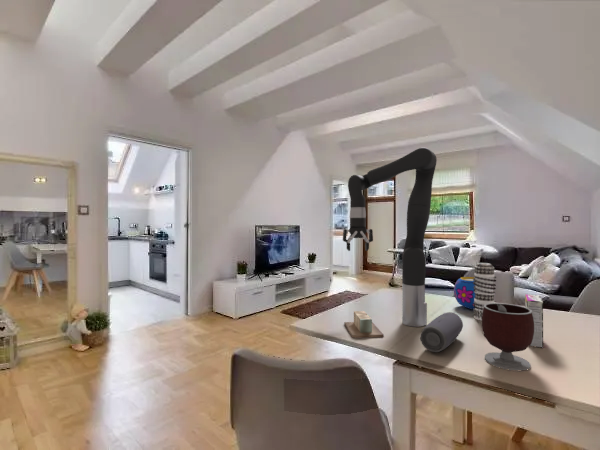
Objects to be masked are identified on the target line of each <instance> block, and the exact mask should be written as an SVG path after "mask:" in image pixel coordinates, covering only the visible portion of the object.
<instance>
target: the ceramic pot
mask: <svg viewBox="0 0 600 450" xmlns="http://www.w3.org/2000/svg"><path fill="white" fill-rule="evenodd" d="M474 278H475V277H474V276H461V277H460V278H458V279H457V280H456V282H455V284H454V287H453V297H454V298H455V300H456V302H457V303H458V305H460V306H462V307H463V308H466V309H470V310H474V309H475V308H474V305H475V304H474V302H475V301H474V298H475V292H474V291H473V290H474V288H473V287H474V286H475V285H474V284H473V282H474V281H473V279H474Z"/></svg>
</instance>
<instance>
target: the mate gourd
mask: <svg viewBox="0 0 600 450" xmlns="http://www.w3.org/2000/svg"><path fill="white" fill-rule="evenodd" d="M481 328H482V332H483V333H482V334H483V336H484V338H485V340H486V341H487V342H488V344H489V345H491V346H492V347H495V348H496V349H499V350H501V351H500V352H499V351H498V352H496V351H495V352H487V353H486V354H484V361H485V360H486V361H487V362H486V361H485V362H486V363H488V364H489V363H490V365H491V364H492V365H491V366H493V365H494V366H493V367H495V366H496V368H498V367H500V368H499V369H501V368H503V369H502V370H505V369H509V370H508V371H511V370H527V369H529V368H530V367H531V366H532V365H531V363H530V361H529V360H527V359H525V358H523V357H522V356H521V357H520V356H518V355H515V354H513V353H515V352H516V353H517V352H522V351H525V350H527V349H528V347H531V346H530V345H531V343H532V340H533V336H534V319H533V315H532V310H530V309H528V308H526V307H525V306H522V305H517V304H512V303H505V302H504V303H501V302H494V303H488V304H485V305H484V309H483V313H482V320H481ZM531 368H532V367H531ZM531 368H530V369H531ZM530 369H529V370H530ZM527 371H528V370H527Z"/></svg>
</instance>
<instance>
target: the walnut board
mask: <svg viewBox="0 0 600 450" xmlns="http://www.w3.org/2000/svg"><path fill="white" fill-rule="evenodd" d="M343 325H344V326H345V328H346V329H347V332H348V333H349V334H350V336H351V337H352V338H351V339H355V338H356V339H357V338H358V339H359V338H361V339H362V338H365V339H366V338H384V333H383V332H382V331H381V330H380V329H379V328H378V327H377V325H376V324H375V323H374V322H373V321H372V332H366V333H361V332H360V331H359V330H358V328H357V327H356V325H355V324H354V321H345V322H344V324H343Z"/></svg>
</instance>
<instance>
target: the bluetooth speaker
mask: <svg viewBox="0 0 600 450" xmlns="http://www.w3.org/2000/svg"><path fill="white" fill-rule="evenodd" d="M463 327H464V324H463V320H462V318H461V317H460V316H459V314H457V313H455V312H451V311H449V312H443V313H442V314H440V315H437V317H435V318H434V319H433V320H431V321H430V322H429V323H427V325H425V326H424V328H423V329H422V330H421V332H420V336H419V337H420V338H419V339H420V342H421V345H422V346H423V347H424V349H426V350H428V351H429V352H433V353H439V352H441V351H444V350H445V349H447V348H448V347H450V345H451V344H453V342H455V341H456V339H457V337H458V336H459V335H460V333H462V330H463Z"/></svg>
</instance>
